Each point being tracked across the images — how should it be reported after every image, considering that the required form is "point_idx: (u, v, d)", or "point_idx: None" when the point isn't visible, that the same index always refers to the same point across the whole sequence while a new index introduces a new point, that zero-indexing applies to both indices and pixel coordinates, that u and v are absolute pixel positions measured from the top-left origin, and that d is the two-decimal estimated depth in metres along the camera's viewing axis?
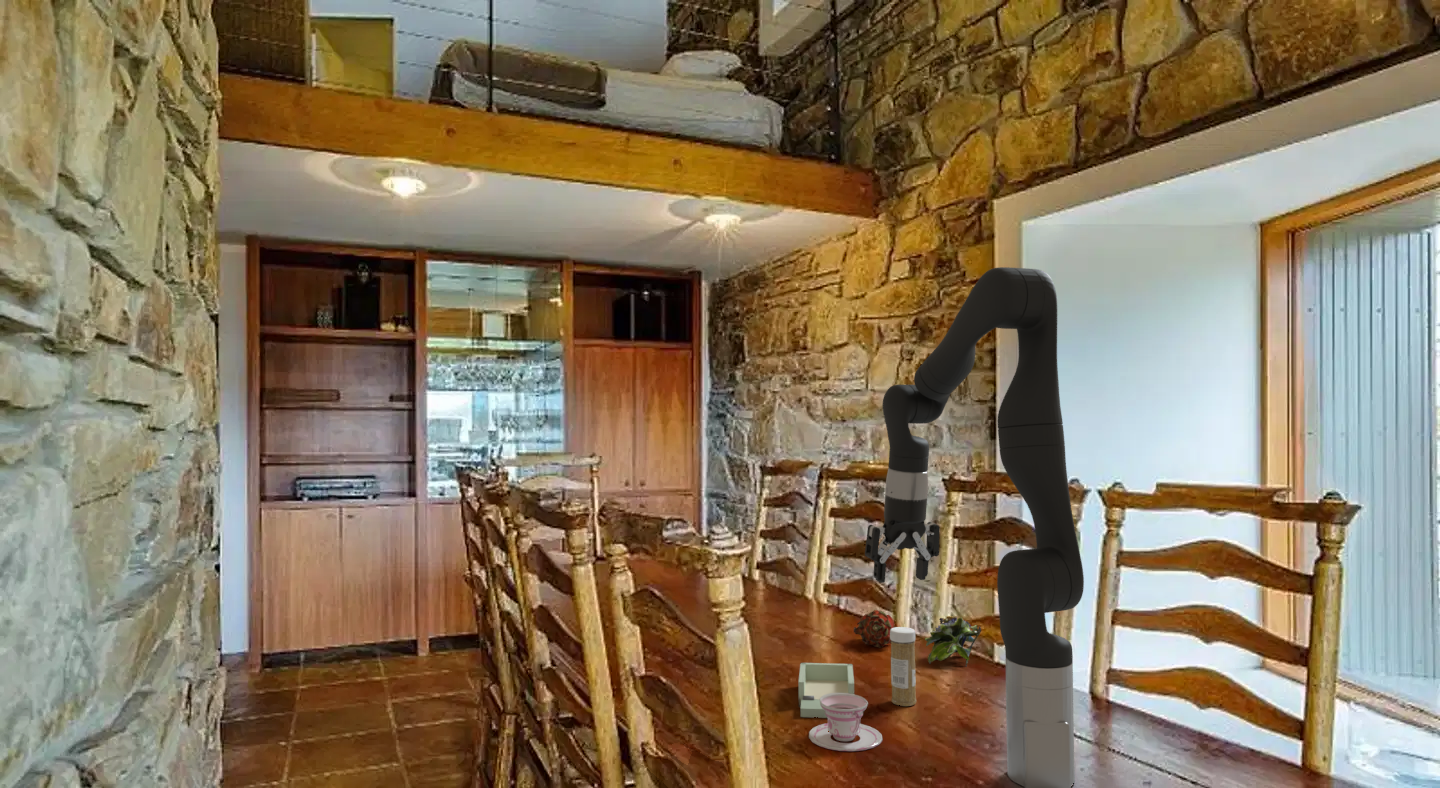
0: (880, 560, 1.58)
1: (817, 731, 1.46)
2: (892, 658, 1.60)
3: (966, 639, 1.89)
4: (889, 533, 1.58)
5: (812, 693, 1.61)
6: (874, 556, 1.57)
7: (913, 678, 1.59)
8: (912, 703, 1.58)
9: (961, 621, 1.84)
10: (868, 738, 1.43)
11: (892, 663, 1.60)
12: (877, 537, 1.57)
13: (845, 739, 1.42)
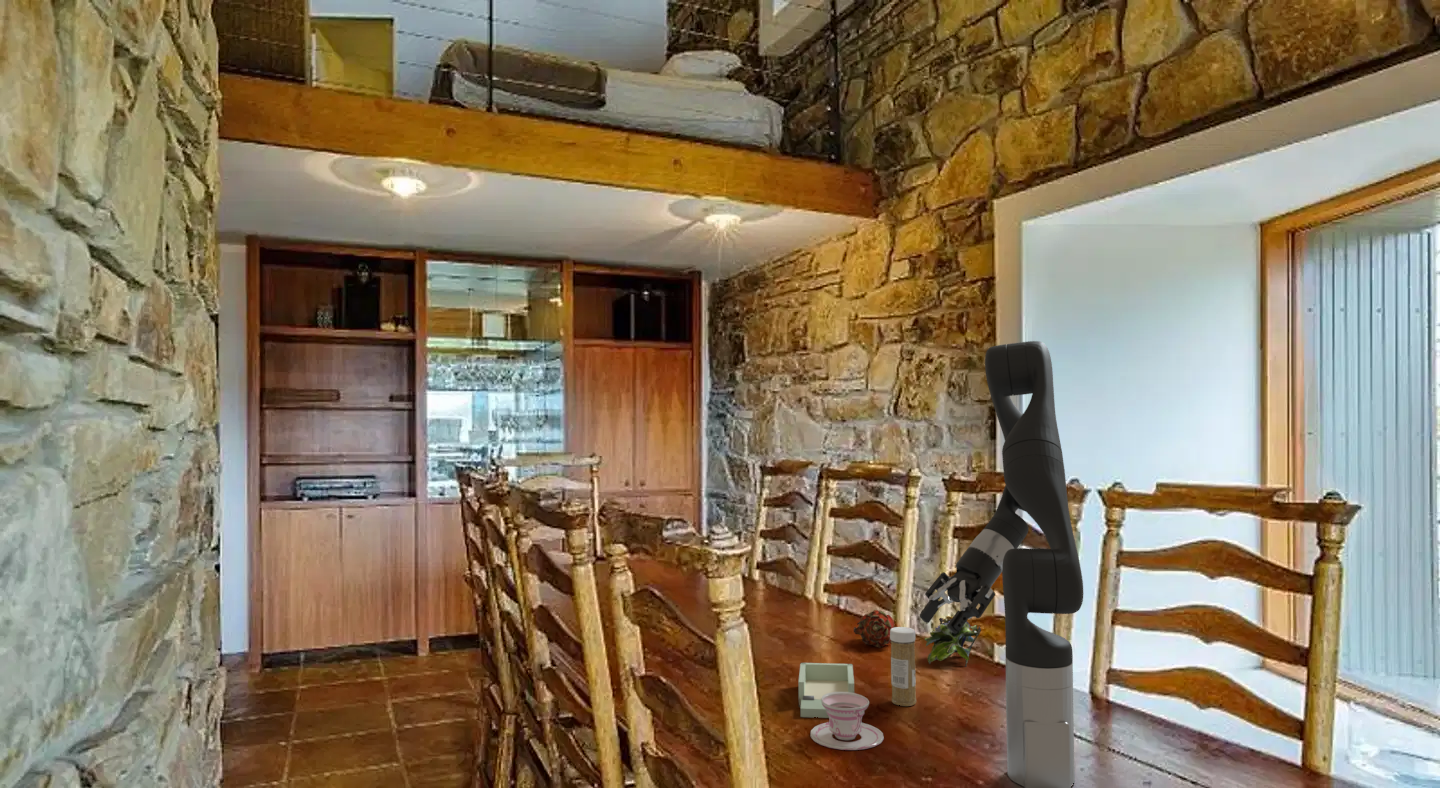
0: (930, 597, 1.69)
1: (819, 730, 1.47)
2: (892, 658, 1.60)
3: (966, 639, 1.89)
4: (949, 579, 1.69)
5: (812, 693, 1.61)
6: (927, 592, 1.70)
7: (913, 678, 1.59)
8: (912, 703, 1.58)
9: None
10: (869, 737, 1.44)
11: (892, 663, 1.60)
12: (939, 579, 1.71)
13: (846, 738, 1.42)
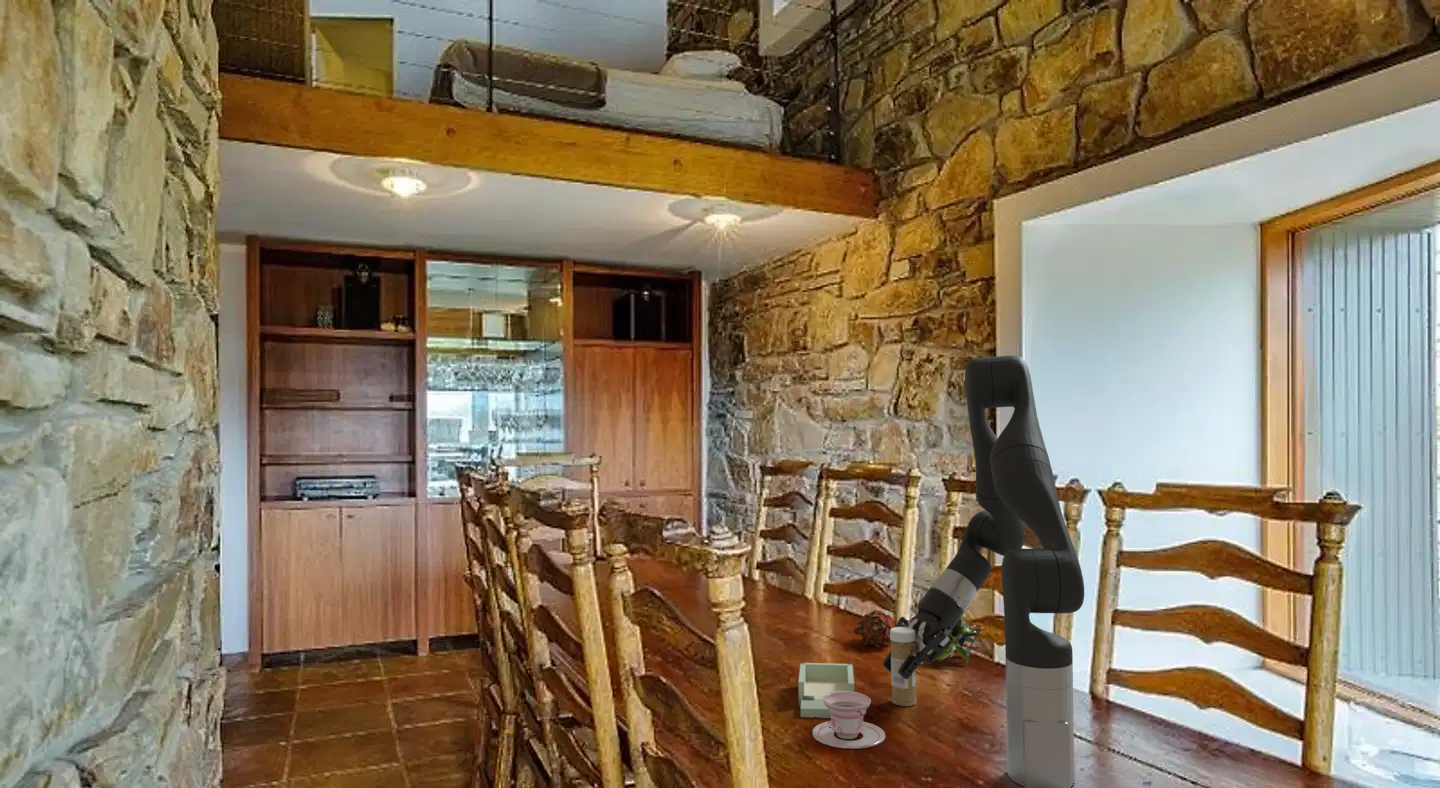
0: None
1: (820, 729, 1.47)
2: (892, 658, 1.60)
3: (965, 639, 1.89)
4: (911, 621, 1.65)
5: (812, 693, 1.61)
6: None
7: (913, 678, 1.59)
8: (912, 703, 1.58)
9: (960, 621, 1.84)
10: (871, 736, 1.44)
11: (892, 663, 1.60)
12: (899, 624, 1.67)
13: (848, 737, 1.43)
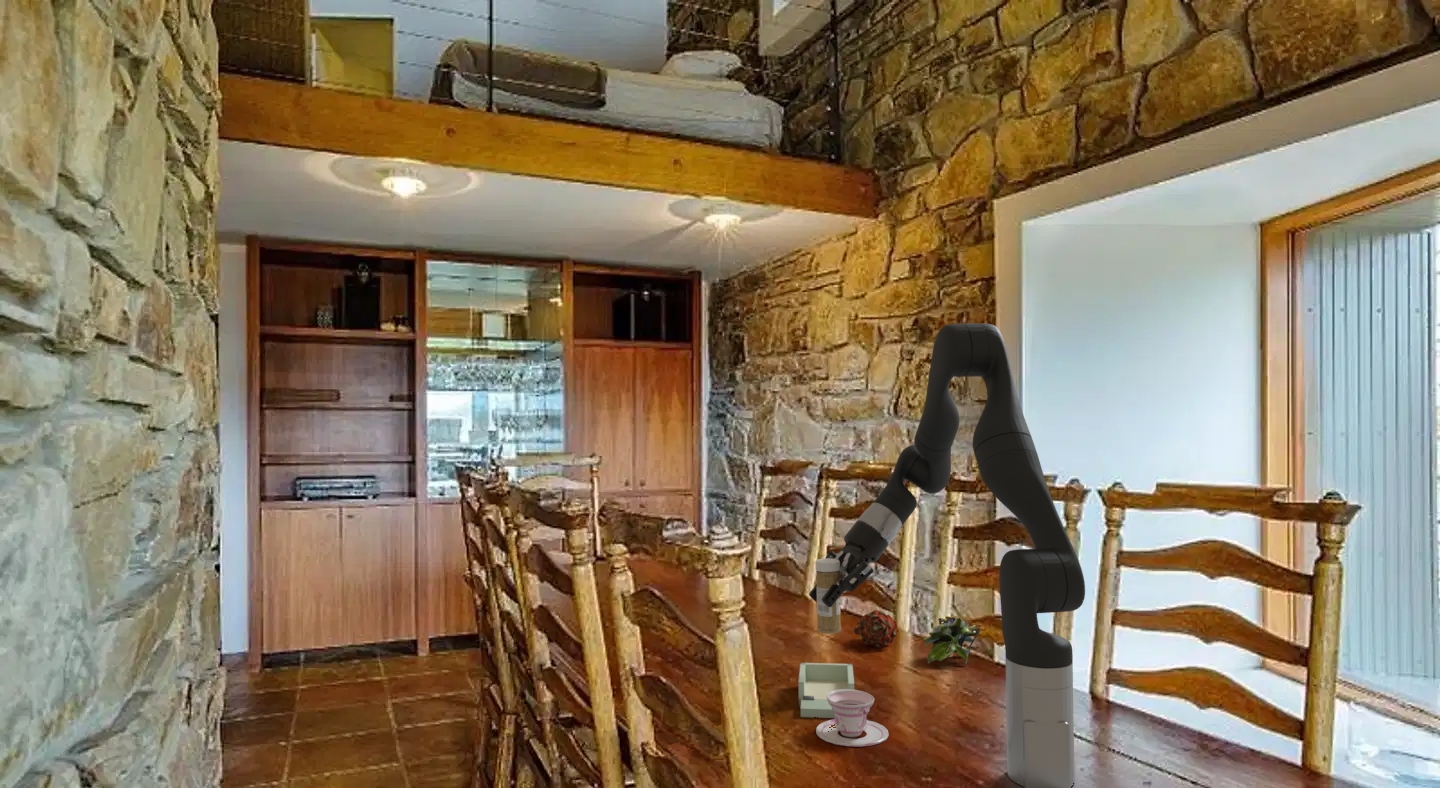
0: None
1: (824, 727, 1.48)
2: (817, 588, 1.64)
3: (965, 639, 1.89)
4: (838, 554, 1.69)
5: (812, 693, 1.61)
6: None
7: (837, 607, 1.63)
8: (836, 631, 1.62)
9: (960, 621, 1.84)
10: (874, 734, 1.45)
11: (817, 592, 1.64)
12: (828, 557, 1.71)
13: (852, 735, 1.44)
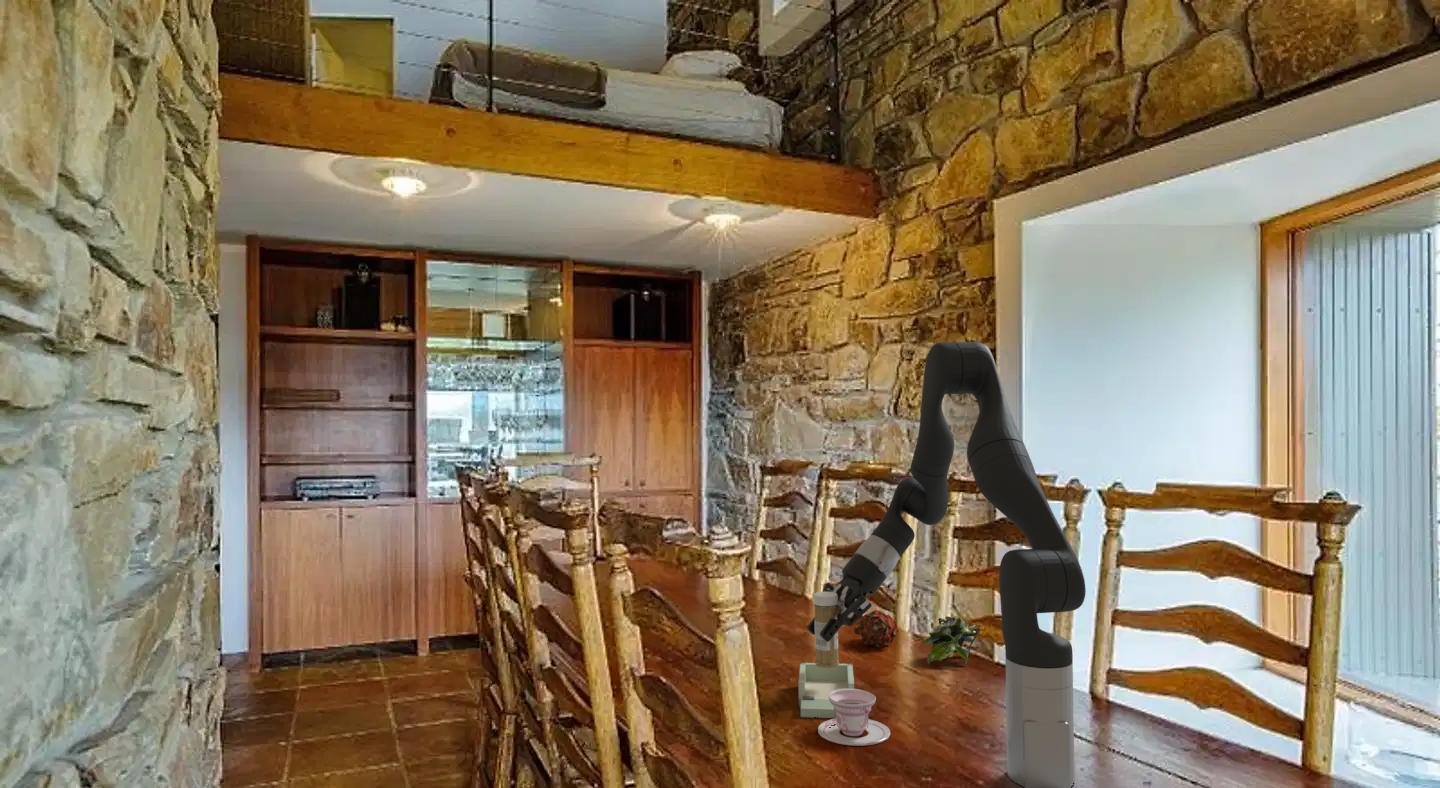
0: None
1: (826, 726, 1.48)
2: (815, 621, 1.63)
3: (965, 639, 1.89)
4: (836, 586, 1.69)
5: (812, 693, 1.61)
6: None
7: (835, 641, 1.62)
8: (834, 665, 1.62)
9: (960, 621, 1.84)
10: (876, 733, 1.45)
11: (815, 626, 1.63)
12: (825, 589, 1.71)
13: (854, 734, 1.44)
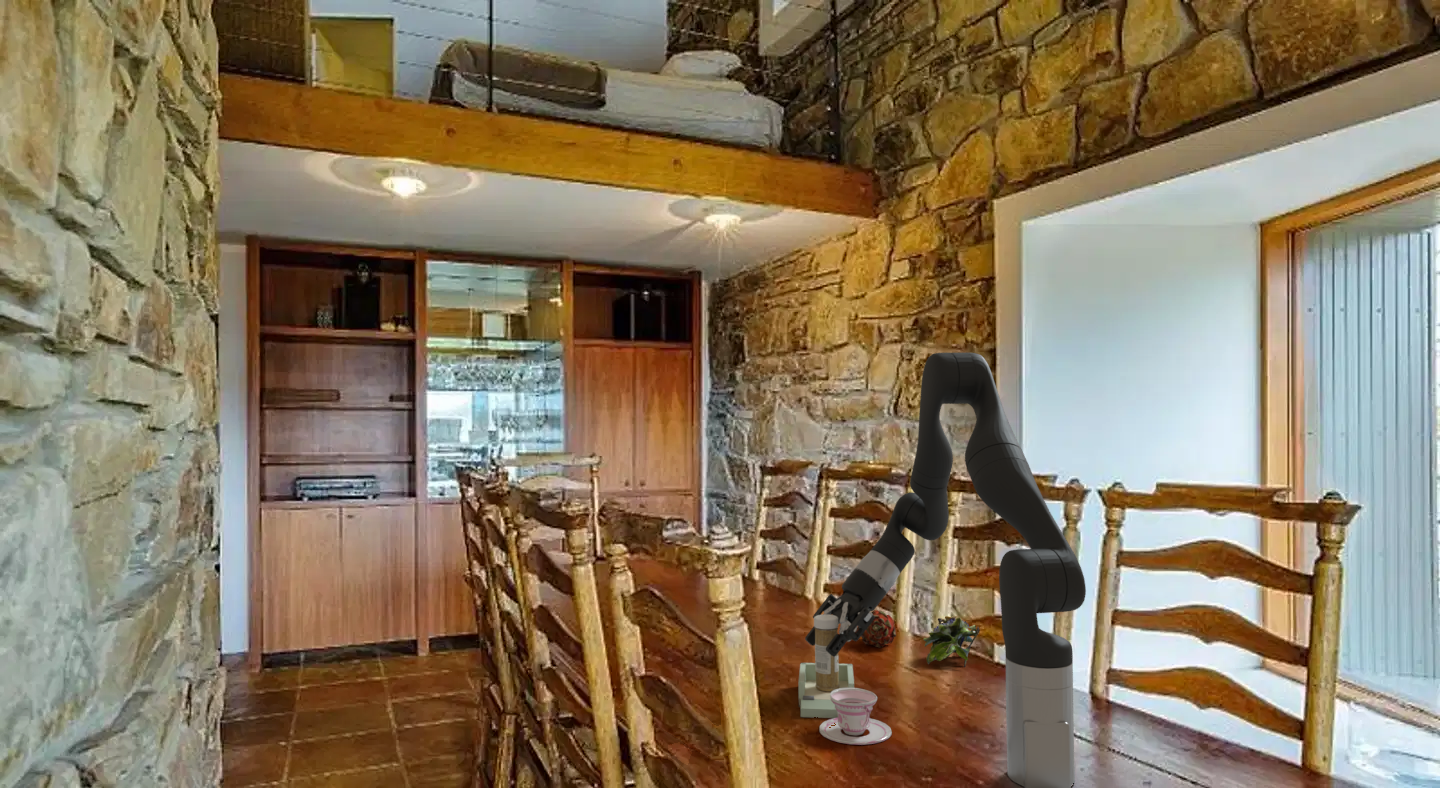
0: None
1: (827, 725, 1.49)
2: (816, 645, 1.64)
3: (964, 639, 1.89)
4: (836, 601, 1.69)
5: (812, 693, 1.61)
6: (815, 614, 1.70)
7: (836, 664, 1.62)
8: (835, 688, 1.62)
9: (959, 621, 1.84)
10: (877, 732, 1.46)
11: (816, 649, 1.64)
12: (826, 601, 1.71)
13: (855, 733, 1.45)
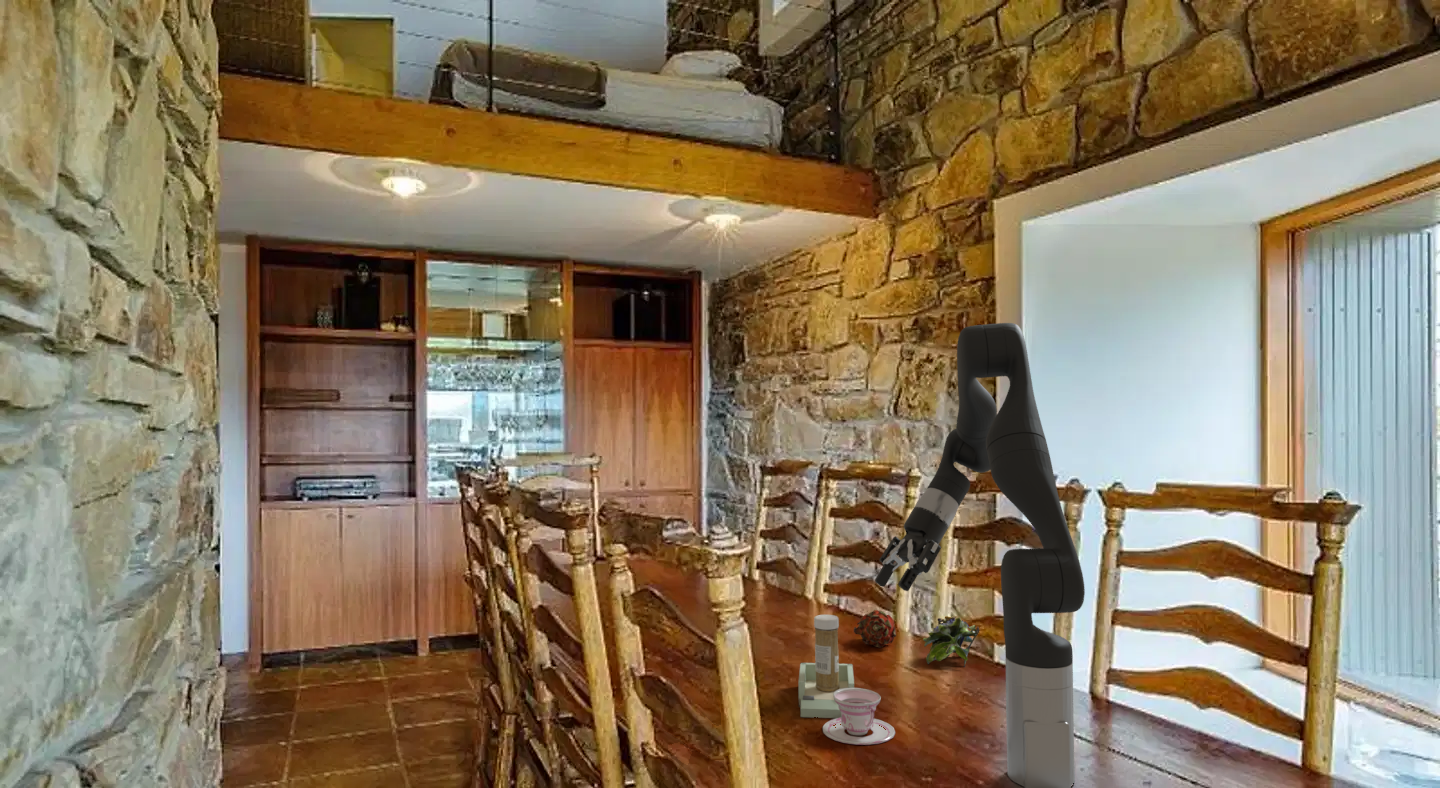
0: None
1: (830, 726, 1.49)
2: (816, 645, 1.63)
3: (964, 639, 1.89)
4: None
5: (812, 693, 1.61)
6: (881, 557, 1.74)
7: (836, 664, 1.62)
8: (835, 689, 1.62)
9: (959, 621, 1.84)
10: (881, 732, 1.46)
11: (816, 650, 1.63)
12: (891, 543, 1.74)
13: (859, 733, 1.45)
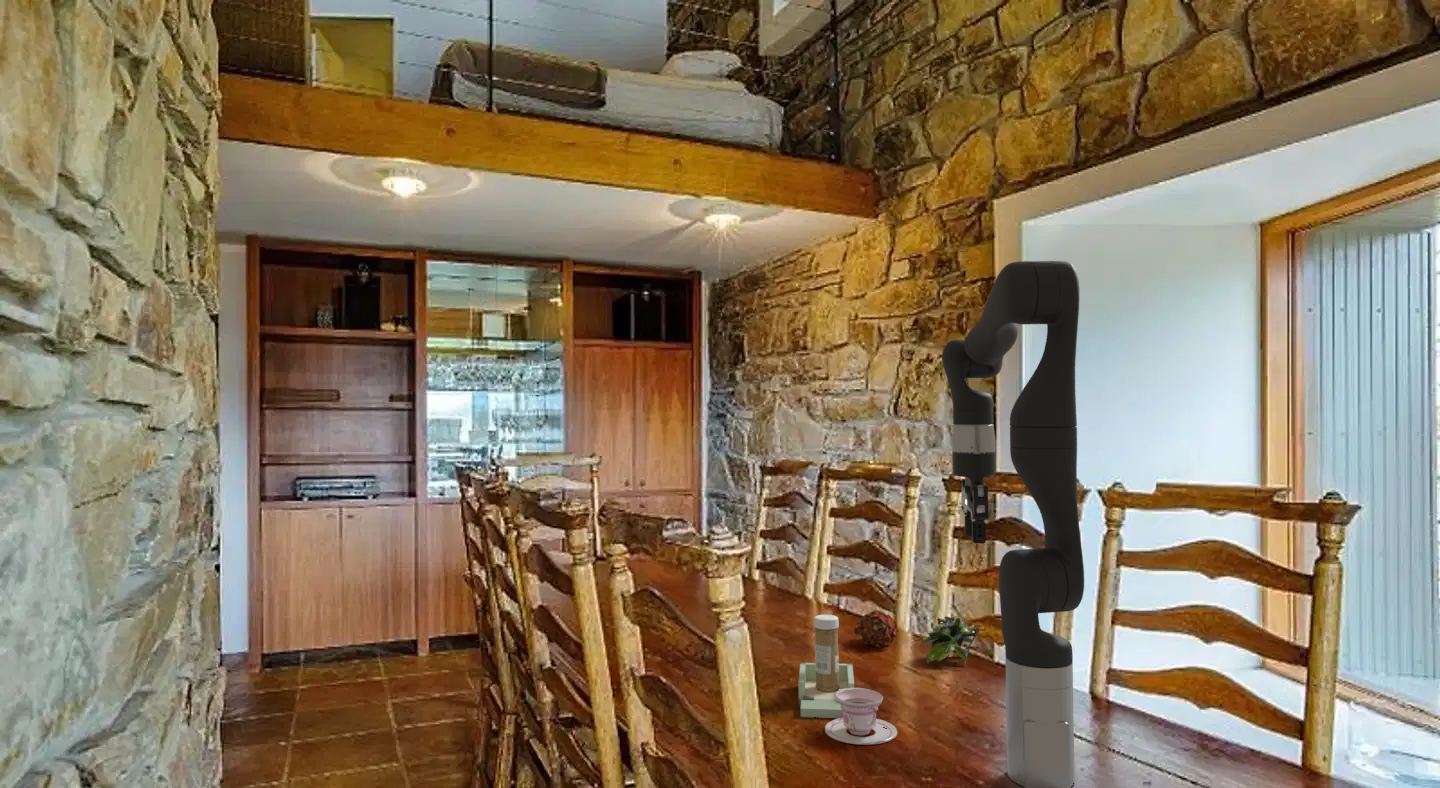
0: None
1: (832, 726, 1.49)
2: (816, 645, 1.63)
3: (964, 639, 1.89)
4: (965, 486, 1.62)
5: (812, 693, 1.61)
6: (961, 506, 1.65)
7: (836, 664, 1.62)
8: (835, 689, 1.62)
9: (959, 621, 1.84)
10: (883, 732, 1.46)
11: (816, 650, 1.63)
12: None
13: (861, 733, 1.44)
